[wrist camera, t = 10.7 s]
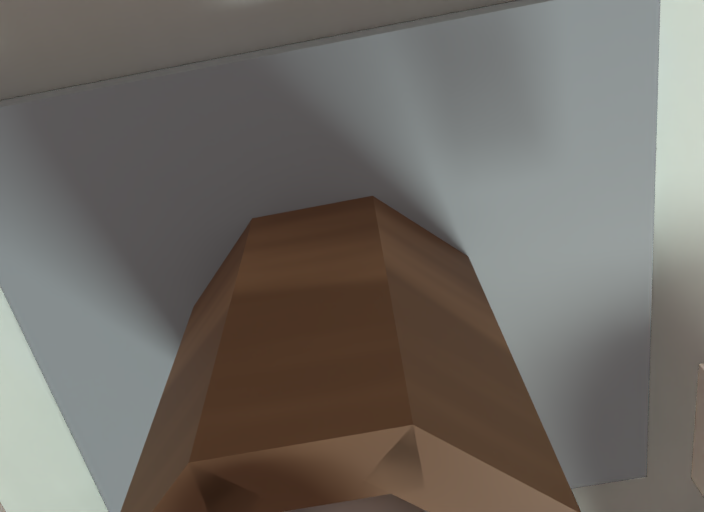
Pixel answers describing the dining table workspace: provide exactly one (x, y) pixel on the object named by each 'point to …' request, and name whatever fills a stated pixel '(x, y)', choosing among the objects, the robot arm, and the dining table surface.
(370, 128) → the post block
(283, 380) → the collar
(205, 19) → the dining table surface
